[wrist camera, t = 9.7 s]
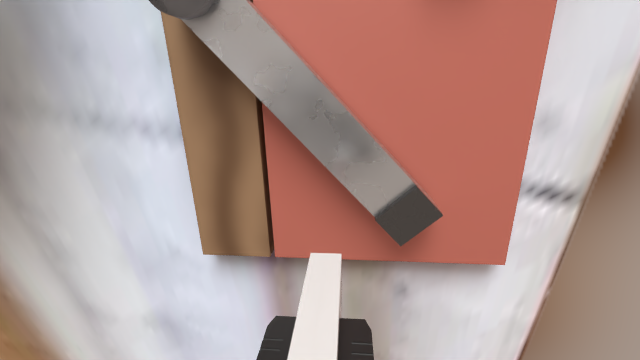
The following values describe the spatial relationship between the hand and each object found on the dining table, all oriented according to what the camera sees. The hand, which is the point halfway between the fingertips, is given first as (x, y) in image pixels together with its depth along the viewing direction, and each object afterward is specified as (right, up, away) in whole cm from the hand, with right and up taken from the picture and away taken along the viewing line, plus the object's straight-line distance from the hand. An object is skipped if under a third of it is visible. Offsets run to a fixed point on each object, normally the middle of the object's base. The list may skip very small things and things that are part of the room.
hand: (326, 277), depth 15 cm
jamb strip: (-9, +12, +13) cm, 20 cm away
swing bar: (-1, +11, +9) cm, 15 cm away
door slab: (+6, +12, +11) cm, 17 cm away
